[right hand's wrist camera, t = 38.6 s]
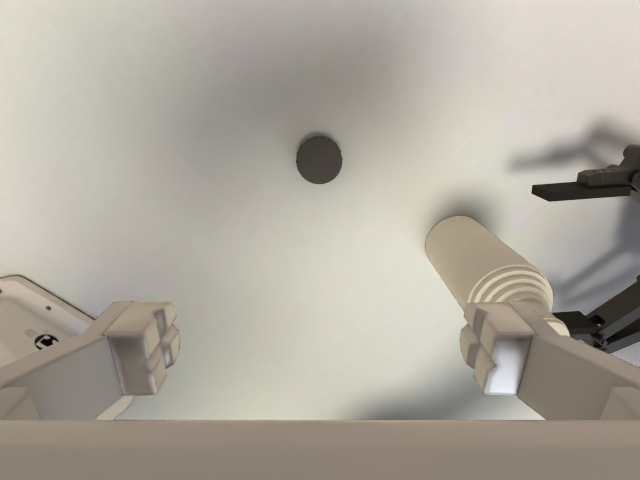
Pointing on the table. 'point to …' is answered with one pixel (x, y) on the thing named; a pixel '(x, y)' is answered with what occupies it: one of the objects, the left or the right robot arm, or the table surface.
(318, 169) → the cap
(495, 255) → the bottle
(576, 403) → the right robot arm
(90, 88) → the table surface
